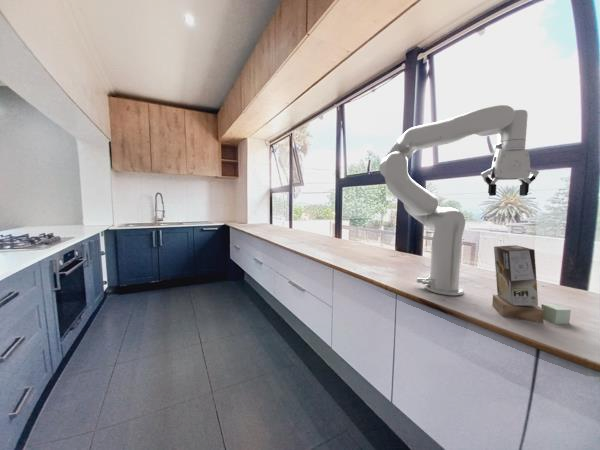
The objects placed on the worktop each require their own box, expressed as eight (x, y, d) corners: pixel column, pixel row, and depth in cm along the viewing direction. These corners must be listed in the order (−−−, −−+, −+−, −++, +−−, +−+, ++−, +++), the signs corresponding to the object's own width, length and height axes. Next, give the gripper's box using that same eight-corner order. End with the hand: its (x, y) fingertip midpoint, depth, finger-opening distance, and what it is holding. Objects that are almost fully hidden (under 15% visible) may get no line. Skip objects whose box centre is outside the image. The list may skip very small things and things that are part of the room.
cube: (555, 323, 67) (556, 309, 66) (540, 317, 71) (541, 304, 70) (569, 323, 67) (570, 309, 67) (553, 317, 71) (554, 304, 70)
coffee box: (539, 306, 68) (536, 249, 67) (512, 305, 69) (509, 250, 69) (519, 294, 77) (516, 244, 76) (496, 295, 78) (492, 246, 78)
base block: (502, 317, 71) (503, 304, 70) (492, 306, 79) (493, 294, 79) (542, 324, 67) (544, 310, 67) (527, 311, 75) (528, 298, 75)
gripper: (489, 146, 85) (485, 195, 86) (548, 143, 81) (543, 194, 82) (478, 150, 92) (475, 196, 93) (532, 148, 88) (528, 195, 89)
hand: (507, 195), depth 88 cm, fingers open, 9 cm apart
